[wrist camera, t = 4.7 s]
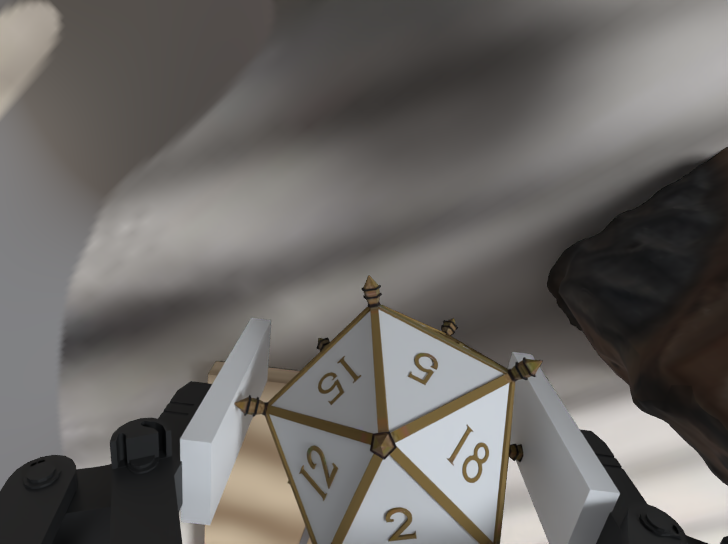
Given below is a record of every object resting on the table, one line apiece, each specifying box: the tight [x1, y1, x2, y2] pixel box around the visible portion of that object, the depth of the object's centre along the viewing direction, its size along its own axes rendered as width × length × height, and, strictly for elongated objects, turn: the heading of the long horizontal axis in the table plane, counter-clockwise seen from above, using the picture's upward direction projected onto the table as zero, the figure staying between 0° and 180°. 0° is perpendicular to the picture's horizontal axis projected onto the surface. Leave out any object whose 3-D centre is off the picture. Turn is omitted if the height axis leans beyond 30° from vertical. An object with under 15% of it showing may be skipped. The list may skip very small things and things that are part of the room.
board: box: [204, 361, 312, 544], centre depth 31 cm, size 23×16×2 cm
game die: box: [234, 275, 542, 544], centre depth 14 cm, size 9×8×10 cm
